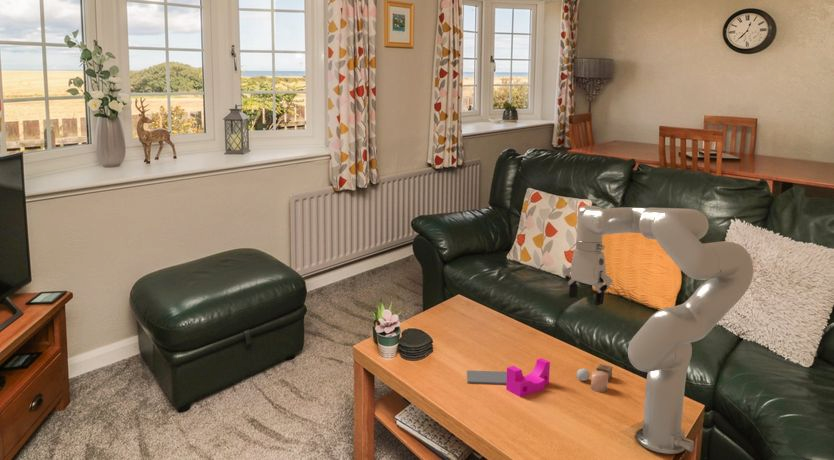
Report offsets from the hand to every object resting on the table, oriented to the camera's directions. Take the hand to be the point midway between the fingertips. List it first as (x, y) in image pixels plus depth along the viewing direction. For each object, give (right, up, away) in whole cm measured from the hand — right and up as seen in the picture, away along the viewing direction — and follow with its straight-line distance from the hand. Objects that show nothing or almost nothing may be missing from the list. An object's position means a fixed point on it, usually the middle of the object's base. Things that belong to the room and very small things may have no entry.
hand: (585, 300), depth 179 cm
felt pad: (-27, -27, +10) cm, 40 cm away
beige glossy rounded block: (+5, -28, +3) cm, 29 cm away
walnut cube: (+9, -27, +11) cm, 31 cm away
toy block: (-16, -28, +4) cm, 33 cm away
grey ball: (+2, -27, +10) cm, 29 cm away
